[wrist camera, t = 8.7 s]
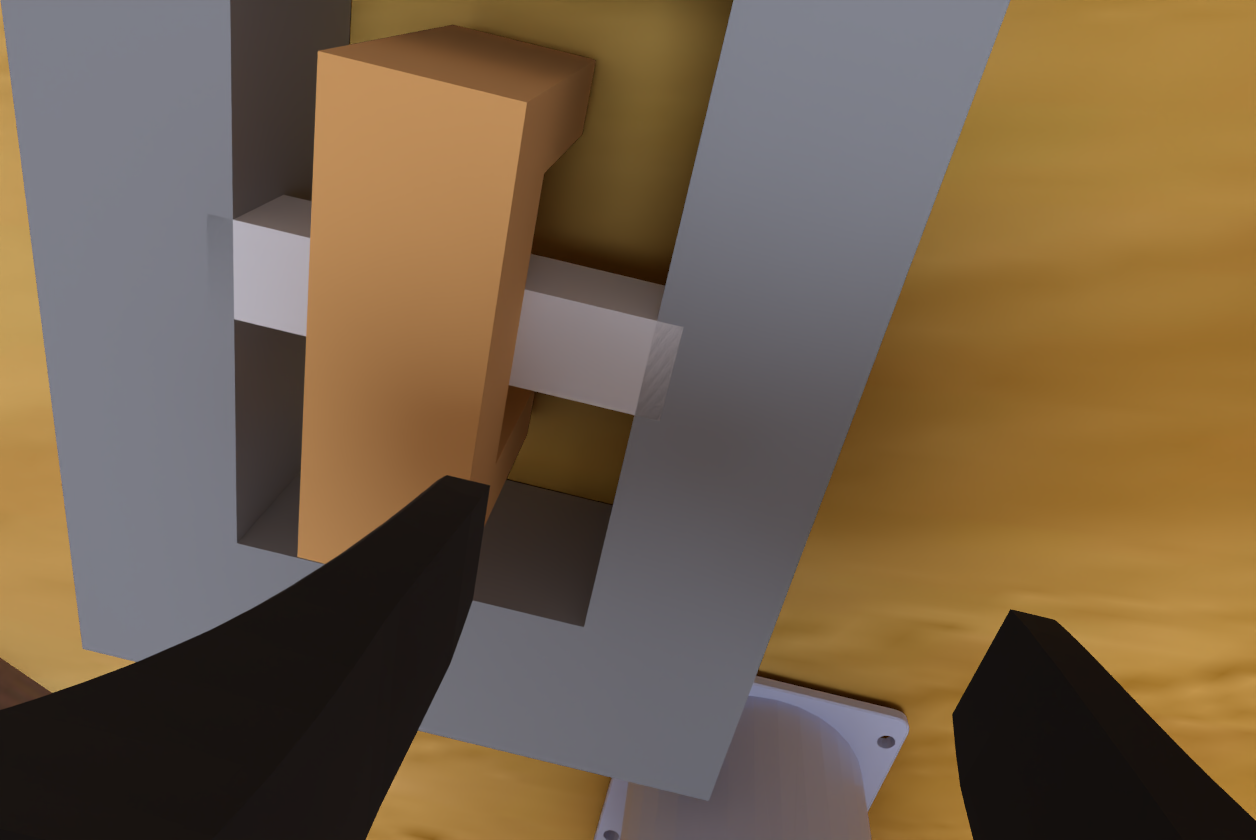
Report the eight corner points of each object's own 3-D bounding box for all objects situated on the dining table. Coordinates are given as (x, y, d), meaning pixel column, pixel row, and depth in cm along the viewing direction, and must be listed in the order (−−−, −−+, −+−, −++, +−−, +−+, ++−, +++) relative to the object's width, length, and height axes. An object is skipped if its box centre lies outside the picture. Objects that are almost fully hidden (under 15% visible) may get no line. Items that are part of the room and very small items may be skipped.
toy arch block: (527, 434, 22) (452, 595, 16) (411, 406, 22) (297, 556, 16) (595, 60, 18) (527, 102, 12) (453, 24, 18) (318, 50, 12)
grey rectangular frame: (714, 659, 26) (708, 801, 22) (194, 533, 26) (82, 648, 22) (1021, -238, 16) (1130, -318, 11) (154, -439, 16) (-75, -598, 11)
